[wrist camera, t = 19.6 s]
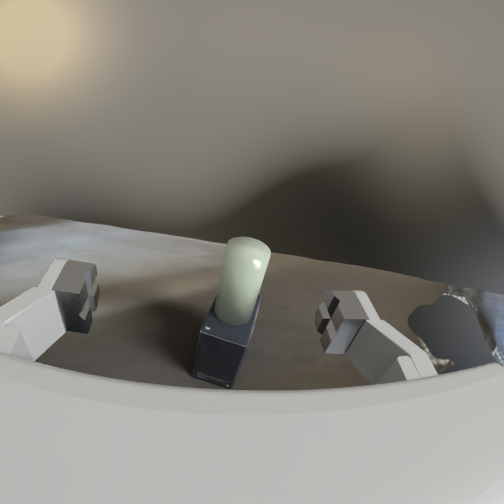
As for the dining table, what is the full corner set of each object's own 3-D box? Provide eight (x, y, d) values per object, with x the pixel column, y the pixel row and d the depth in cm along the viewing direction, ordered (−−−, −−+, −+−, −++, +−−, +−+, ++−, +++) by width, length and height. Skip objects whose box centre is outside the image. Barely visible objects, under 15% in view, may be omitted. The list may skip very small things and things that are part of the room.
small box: (233, 391, 42) (248, 347, 36) (190, 377, 42) (196, 331, 36) (248, 340, 50) (263, 294, 45) (211, 328, 51) (220, 281, 45)
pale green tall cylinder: (214, 323, 38) (227, 259, 33) (213, 297, 42) (226, 234, 37) (253, 326, 39) (273, 264, 34) (249, 300, 43) (267, 239, 38)
